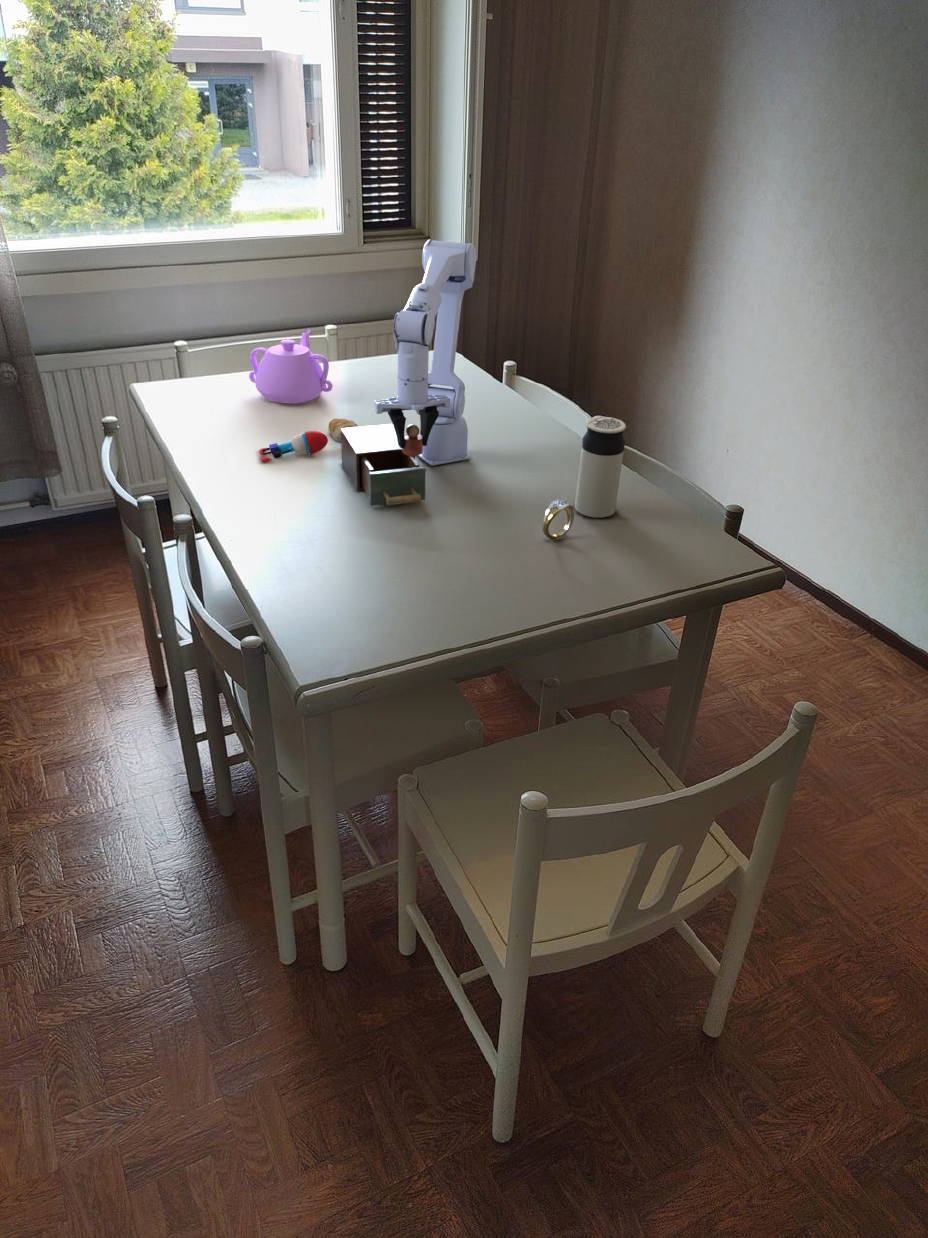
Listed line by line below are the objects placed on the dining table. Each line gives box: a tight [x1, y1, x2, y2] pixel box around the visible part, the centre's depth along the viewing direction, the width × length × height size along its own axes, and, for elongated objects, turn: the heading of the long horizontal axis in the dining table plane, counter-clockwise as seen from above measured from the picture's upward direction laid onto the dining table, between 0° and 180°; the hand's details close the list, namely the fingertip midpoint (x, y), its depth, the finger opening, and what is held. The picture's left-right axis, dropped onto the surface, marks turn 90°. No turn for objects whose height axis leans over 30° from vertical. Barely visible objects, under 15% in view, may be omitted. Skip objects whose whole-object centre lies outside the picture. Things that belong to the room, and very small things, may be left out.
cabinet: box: [340, 423, 416, 492], centre depth 188 cm, size 14×12×8 cm
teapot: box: [248, 328, 333, 404], centre depth 226 cm, size 22×22×14 cm
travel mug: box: [574, 416, 627, 519], centre depth 175 cm, size 8×8×18 cm
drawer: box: [359, 452, 426, 507], centre depth 179 cm, size 17×11×7 cm, turn 19°
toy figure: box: [258, 430, 329, 463], centre depth 196 cm, size 8×5×15 cm
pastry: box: [328, 418, 360, 443], centre depth 207 cm, size 9×7×4 cm
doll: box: [402, 423, 423, 457], centre depth 176 cm, size 4×4×6 cm
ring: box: [541, 498, 575, 541], centre depth 167 cm, size 7×3×8 cm, turn 124°
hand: (412, 445), depth 177 cm, fingers closed on doll, 4 cm apart
